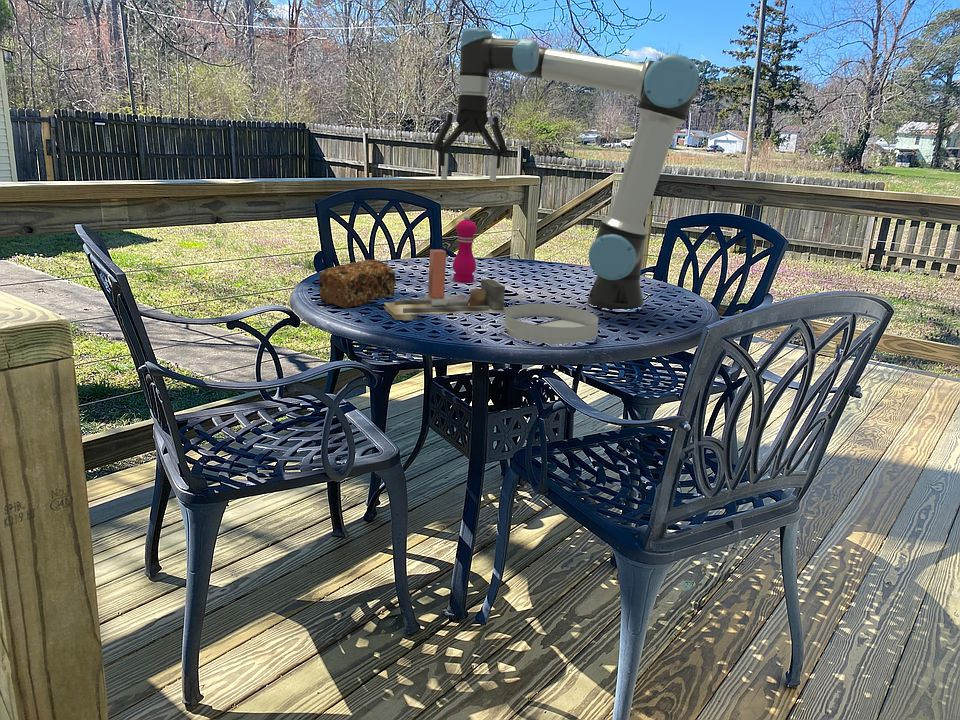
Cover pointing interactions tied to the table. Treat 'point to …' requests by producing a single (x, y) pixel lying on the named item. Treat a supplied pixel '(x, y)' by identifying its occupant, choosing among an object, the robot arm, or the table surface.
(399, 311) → the board
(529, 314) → the dish
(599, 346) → the table surface
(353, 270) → the bread
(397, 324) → the table surface
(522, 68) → the robot arm
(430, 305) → the carriage
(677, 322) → the table surface
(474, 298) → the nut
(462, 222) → the pepper mill
